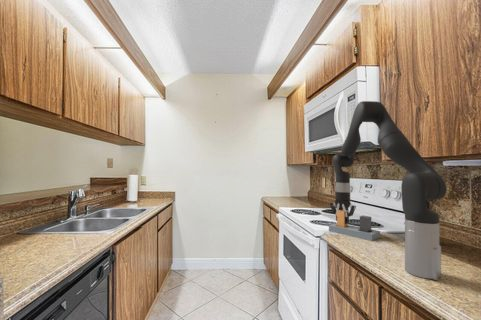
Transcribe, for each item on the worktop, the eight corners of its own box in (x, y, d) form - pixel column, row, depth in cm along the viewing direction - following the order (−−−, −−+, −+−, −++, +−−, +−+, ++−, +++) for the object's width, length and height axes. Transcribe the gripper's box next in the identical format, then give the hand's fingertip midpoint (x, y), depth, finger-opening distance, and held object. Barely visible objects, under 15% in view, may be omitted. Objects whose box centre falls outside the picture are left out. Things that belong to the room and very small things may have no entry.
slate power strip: (380, 237, 122) (380, 217, 122) (371, 240, 116) (371, 219, 116) (338, 228, 139) (338, 210, 139) (328, 230, 132) (329, 212, 133)
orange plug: (347, 229, 132) (347, 210, 132) (344, 230, 129) (344, 211, 129) (340, 227, 135) (340, 209, 135) (336, 228, 132) (337, 210, 132)
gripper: (326, 190, 135) (326, 221, 135) (352, 192, 125) (352, 226, 124) (333, 189, 140) (333, 219, 140) (359, 191, 129) (358, 224, 129)
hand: (342, 222), depth 132 cm, fingers closed on orange plug, 3 cm apart
